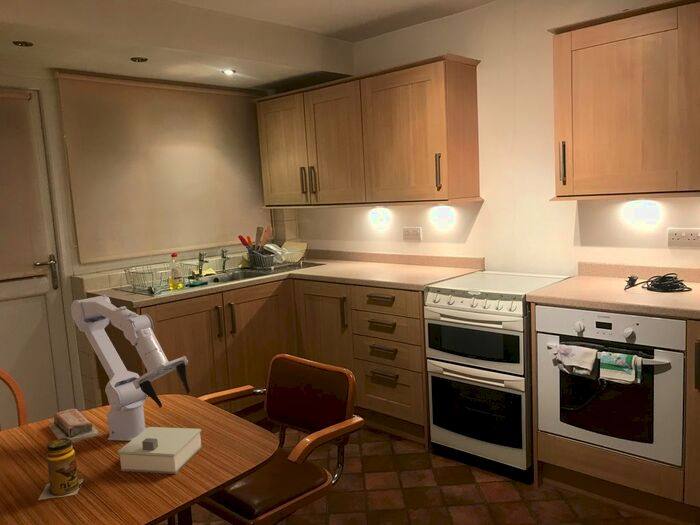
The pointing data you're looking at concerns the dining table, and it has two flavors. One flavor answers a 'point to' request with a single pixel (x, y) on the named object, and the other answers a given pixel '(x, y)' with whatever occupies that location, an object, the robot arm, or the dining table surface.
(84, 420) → the packaged product
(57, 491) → the condiment
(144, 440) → the lid
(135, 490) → the dining table surface
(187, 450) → the carton
